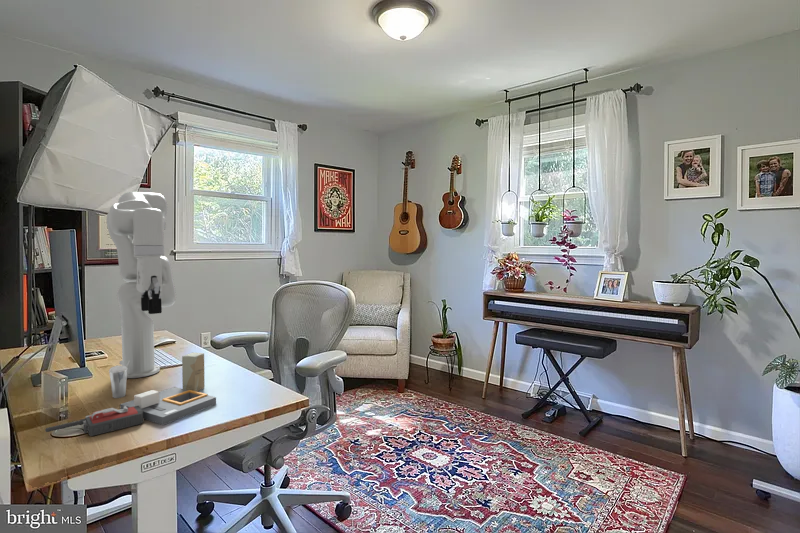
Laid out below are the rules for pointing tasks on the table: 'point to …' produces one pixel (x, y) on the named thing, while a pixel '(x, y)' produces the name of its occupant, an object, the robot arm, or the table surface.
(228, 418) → the table surface
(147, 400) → the block
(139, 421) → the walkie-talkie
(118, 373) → the milkshake
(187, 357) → the box
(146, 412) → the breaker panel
